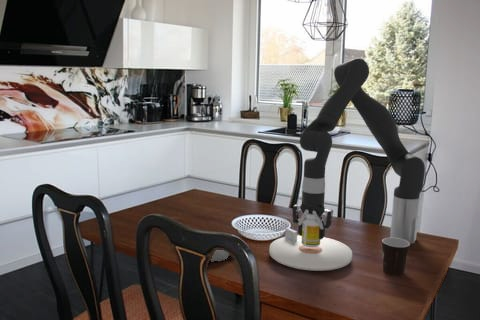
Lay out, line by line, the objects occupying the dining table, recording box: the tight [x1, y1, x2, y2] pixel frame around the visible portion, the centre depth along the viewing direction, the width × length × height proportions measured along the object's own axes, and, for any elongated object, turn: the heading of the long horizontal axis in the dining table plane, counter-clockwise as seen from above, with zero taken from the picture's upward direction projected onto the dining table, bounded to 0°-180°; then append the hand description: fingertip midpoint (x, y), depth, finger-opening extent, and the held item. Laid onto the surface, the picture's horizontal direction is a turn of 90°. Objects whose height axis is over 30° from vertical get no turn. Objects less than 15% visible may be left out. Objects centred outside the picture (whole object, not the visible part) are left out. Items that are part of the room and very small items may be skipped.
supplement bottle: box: [302, 213, 320, 247], centre depth 163 cm, size 6×6×11 cm
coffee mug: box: [381, 237, 411, 277], centre depth 154 cm, size 12×9×10 cm
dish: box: [210, 250, 229, 263], centre depth 166 cm, size 14×14×5 cm
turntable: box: [269, 227, 353, 272], centre depth 165 cm, size 28×28×5 cm
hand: (311, 236), depth 164 cm, fingers closed on supplement bottle, 6 cm apart
